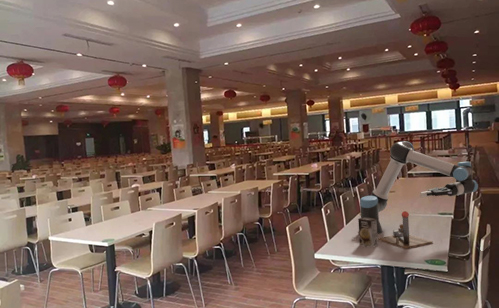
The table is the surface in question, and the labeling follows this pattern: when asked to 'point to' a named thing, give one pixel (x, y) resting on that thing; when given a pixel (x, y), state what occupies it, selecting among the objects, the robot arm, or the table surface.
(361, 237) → the coffee box
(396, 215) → the table surface
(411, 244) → the cracker base
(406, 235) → the lever
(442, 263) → the table surface
